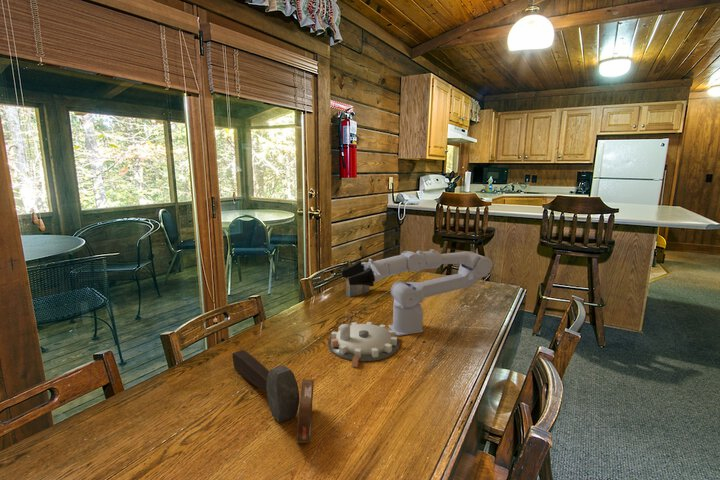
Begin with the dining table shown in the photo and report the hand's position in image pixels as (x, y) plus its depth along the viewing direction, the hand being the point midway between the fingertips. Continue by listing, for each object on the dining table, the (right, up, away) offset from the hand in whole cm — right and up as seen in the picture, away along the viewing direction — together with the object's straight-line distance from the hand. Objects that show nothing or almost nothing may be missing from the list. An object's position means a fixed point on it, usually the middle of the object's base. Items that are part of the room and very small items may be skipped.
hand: (345, 277), depth 115 cm
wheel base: (+6, -20, +1) cm, 21 cm away
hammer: (-20, -26, -24) cm, 40 cm away
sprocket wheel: (+6, -20, +1) cm, 21 cm away
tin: (-7, -28, -36) cm, 46 cm away
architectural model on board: (+4, -12, +46) cm, 47 cm away
